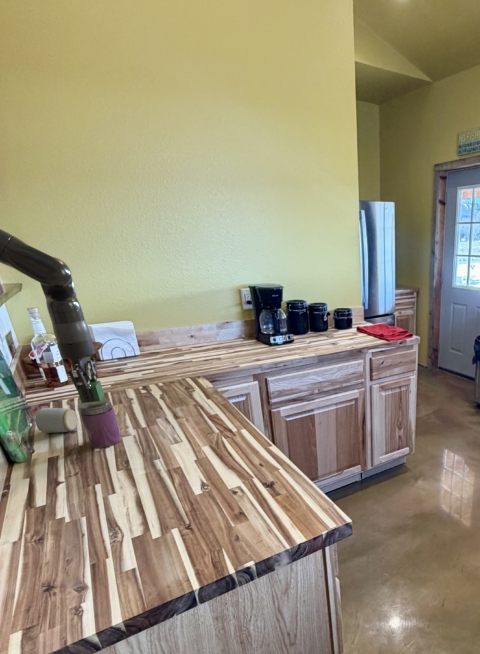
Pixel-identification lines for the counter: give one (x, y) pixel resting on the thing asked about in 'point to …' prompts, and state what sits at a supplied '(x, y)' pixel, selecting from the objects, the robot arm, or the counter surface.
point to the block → (94, 391)
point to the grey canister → (56, 420)
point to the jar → (102, 429)
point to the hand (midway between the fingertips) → (92, 398)
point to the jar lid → (95, 407)
